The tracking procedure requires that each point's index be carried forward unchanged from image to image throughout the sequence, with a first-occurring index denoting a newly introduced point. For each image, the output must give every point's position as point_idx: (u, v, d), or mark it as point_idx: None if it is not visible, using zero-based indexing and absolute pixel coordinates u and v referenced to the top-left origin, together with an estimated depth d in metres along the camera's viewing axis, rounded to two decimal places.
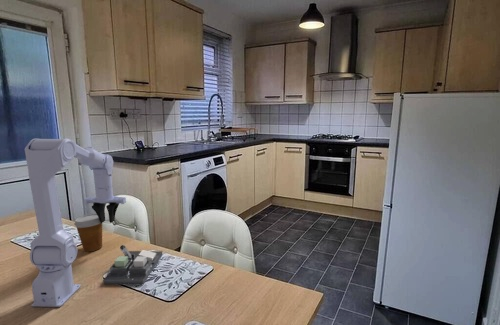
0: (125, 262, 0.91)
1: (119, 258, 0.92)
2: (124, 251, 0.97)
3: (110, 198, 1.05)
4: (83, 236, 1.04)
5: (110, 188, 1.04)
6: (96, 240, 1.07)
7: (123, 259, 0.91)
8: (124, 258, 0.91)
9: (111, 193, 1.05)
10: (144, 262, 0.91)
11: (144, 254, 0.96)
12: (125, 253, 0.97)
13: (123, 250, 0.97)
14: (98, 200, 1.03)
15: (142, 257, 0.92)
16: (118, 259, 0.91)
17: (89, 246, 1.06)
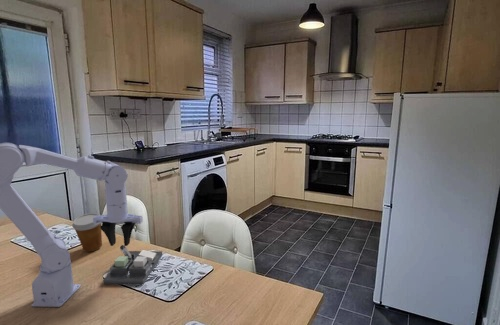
0: (125, 262, 0.91)
1: (119, 258, 0.92)
2: (124, 251, 0.97)
3: (124, 217, 0.88)
4: (83, 238, 1.03)
5: (124, 205, 0.88)
6: (96, 241, 1.06)
7: (123, 259, 0.91)
8: (124, 258, 0.91)
9: (125, 211, 0.88)
10: (144, 262, 0.91)
11: (144, 254, 0.96)
12: (125, 253, 0.97)
13: (123, 250, 0.97)
14: (110, 219, 0.86)
15: (142, 257, 0.92)
16: (118, 259, 0.91)
17: (89, 247, 1.06)
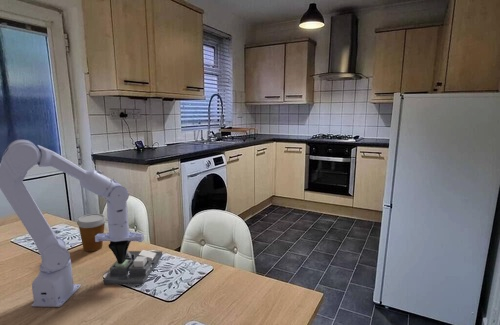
0: (125, 265, 0.91)
1: None
2: None
3: (126, 235, 0.89)
4: (86, 236, 1.04)
5: (126, 224, 0.89)
6: None
7: (124, 263, 0.91)
8: (124, 262, 0.92)
9: (127, 229, 0.89)
10: (144, 262, 0.91)
11: (144, 254, 0.96)
12: None
13: None
14: (112, 238, 0.87)
15: (142, 257, 0.92)
16: None
17: (91, 247, 1.06)
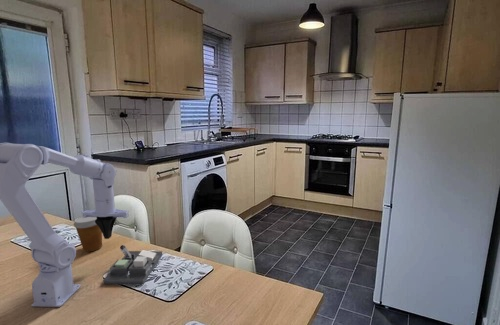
0: (125, 266, 0.91)
1: (119, 261, 0.92)
2: (124, 251, 0.97)
3: (111, 211, 0.94)
4: (84, 236, 1.04)
5: (111, 200, 0.94)
6: (98, 239, 1.07)
7: (124, 263, 0.91)
8: (124, 262, 0.92)
9: (112, 206, 0.94)
10: (144, 262, 0.91)
11: (144, 254, 0.96)
12: (125, 253, 0.97)
13: (123, 250, 0.97)
14: (98, 214, 0.92)
15: (142, 257, 0.92)
16: (118, 263, 0.91)
17: (90, 246, 1.06)
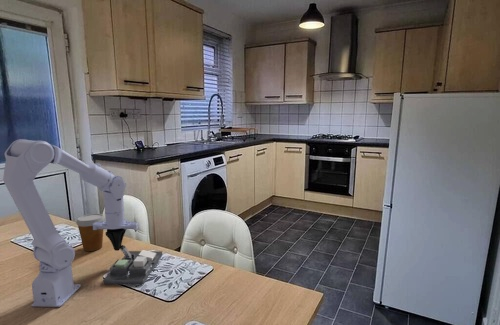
0: (125, 266, 0.91)
1: (119, 261, 0.92)
2: (124, 251, 0.97)
3: (122, 224, 0.95)
4: (86, 235, 1.05)
5: (122, 213, 0.94)
6: (99, 239, 1.08)
7: (124, 263, 0.91)
8: (124, 262, 0.92)
9: (123, 218, 0.95)
10: (144, 262, 0.91)
11: (144, 254, 0.96)
12: (125, 253, 0.97)
13: (123, 250, 0.97)
14: (108, 226, 0.93)
15: (142, 257, 0.92)
16: (118, 263, 0.91)
17: (91, 246, 1.06)
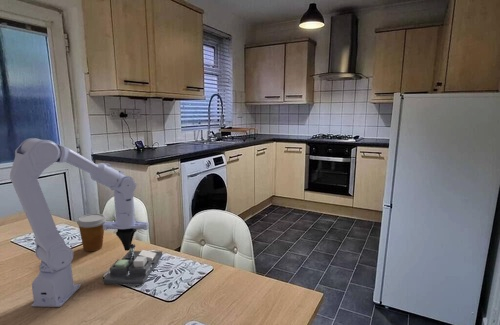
0: (125, 266, 0.91)
1: (119, 261, 0.92)
2: (131, 251, 0.97)
3: (132, 224, 0.95)
4: (88, 236, 1.04)
5: (132, 213, 0.94)
6: (100, 240, 1.08)
7: (124, 263, 0.91)
8: (124, 262, 0.92)
9: (133, 218, 0.95)
10: (144, 262, 0.91)
11: (144, 254, 0.96)
12: (130, 252, 0.97)
13: (131, 250, 0.97)
14: (119, 226, 0.93)
15: (142, 257, 0.92)
16: (118, 263, 0.91)
17: (92, 246, 1.06)
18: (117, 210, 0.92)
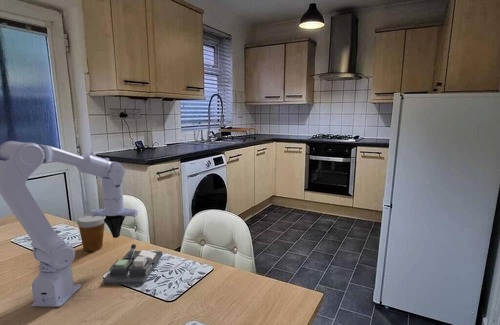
0: (125, 266, 0.91)
1: (119, 261, 0.92)
2: (132, 251, 0.97)
3: (120, 210, 0.94)
4: (88, 236, 1.05)
5: (120, 199, 0.94)
6: (100, 240, 1.08)
7: (124, 263, 0.91)
8: (124, 262, 0.92)
9: (121, 205, 0.94)
10: (144, 262, 0.91)
11: (144, 254, 0.96)
12: (131, 253, 0.97)
13: (132, 250, 0.97)
14: (107, 213, 0.92)
15: (142, 257, 0.92)
16: (118, 263, 0.91)
17: (92, 246, 1.06)
18: (106, 196, 0.91)
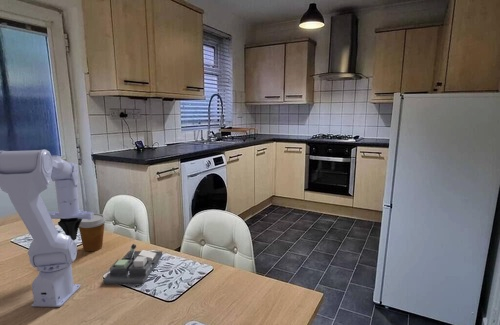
0: (125, 266, 0.91)
1: (119, 261, 0.92)
2: (132, 251, 0.97)
3: (75, 213, 0.91)
4: (89, 236, 1.05)
5: (75, 201, 0.91)
6: (100, 239, 1.08)
7: (124, 263, 0.91)
8: (124, 262, 0.92)
9: (76, 207, 0.91)
10: (144, 262, 0.91)
11: (144, 254, 0.96)
12: (131, 253, 0.97)
13: (132, 250, 0.97)
14: (61, 215, 0.89)
15: (142, 257, 0.92)
16: (118, 263, 0.91)
17: (93, 246, 1.06)
18: (66, 199, 0.89)
